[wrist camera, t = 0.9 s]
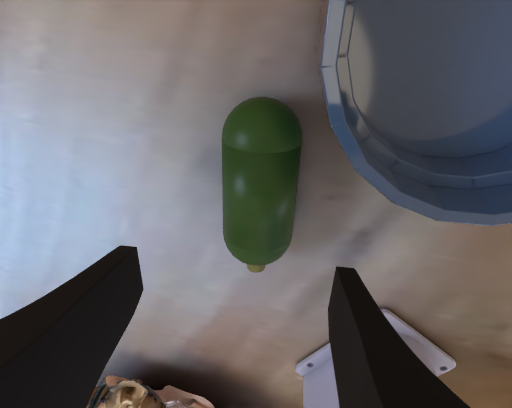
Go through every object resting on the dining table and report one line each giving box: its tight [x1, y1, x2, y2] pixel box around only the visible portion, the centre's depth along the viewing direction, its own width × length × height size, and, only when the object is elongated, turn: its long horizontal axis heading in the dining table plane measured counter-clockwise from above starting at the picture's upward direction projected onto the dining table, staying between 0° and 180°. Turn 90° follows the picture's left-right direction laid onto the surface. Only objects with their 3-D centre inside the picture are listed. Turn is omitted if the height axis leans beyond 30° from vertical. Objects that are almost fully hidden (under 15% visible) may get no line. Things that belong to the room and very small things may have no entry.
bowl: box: [316, 0, 512, 226], centre depth 14 cm, size 14×14×5 cm
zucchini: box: [222, 97, 302, 273], centre depth 19 cm, size 10×4×4 cm, turn 178°
